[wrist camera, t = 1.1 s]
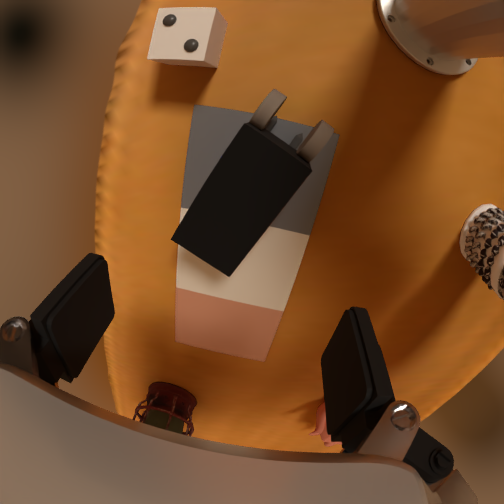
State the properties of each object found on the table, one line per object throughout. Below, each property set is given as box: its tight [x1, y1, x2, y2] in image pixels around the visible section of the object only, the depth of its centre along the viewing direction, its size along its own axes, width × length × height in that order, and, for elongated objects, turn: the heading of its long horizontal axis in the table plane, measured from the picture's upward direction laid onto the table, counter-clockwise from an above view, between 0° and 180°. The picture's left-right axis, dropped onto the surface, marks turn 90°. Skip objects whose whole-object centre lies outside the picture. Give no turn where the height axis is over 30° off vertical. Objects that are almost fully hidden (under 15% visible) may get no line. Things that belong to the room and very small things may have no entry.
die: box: [147, 7, 228, 68], centre depth 18 cm, size 5×5×5 cm
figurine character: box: [171, 89, 334, 277], centre depth 23 cm, size 7×8×15 cm
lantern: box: [133, 382, 197, 436], centre depth 37 cm, size 12×12×30 cm
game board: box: [175, 105, 339, 362], centre depth 32 cm, size 33×14×1 cm, turn 169°
